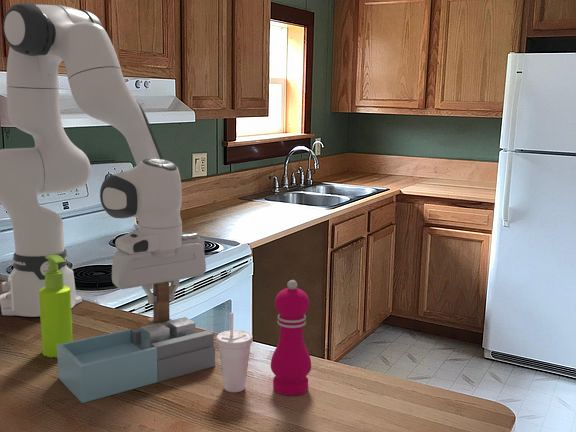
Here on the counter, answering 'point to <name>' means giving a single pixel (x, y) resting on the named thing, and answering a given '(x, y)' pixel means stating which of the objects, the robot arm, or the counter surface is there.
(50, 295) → the soap dispenser
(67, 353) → the tray
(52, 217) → the robot arm
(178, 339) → the groove board
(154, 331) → the light grey cube
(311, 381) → the counter surface
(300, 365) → the pepper mill
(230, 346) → the smoothie
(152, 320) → the brown bar
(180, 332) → the grey cube
